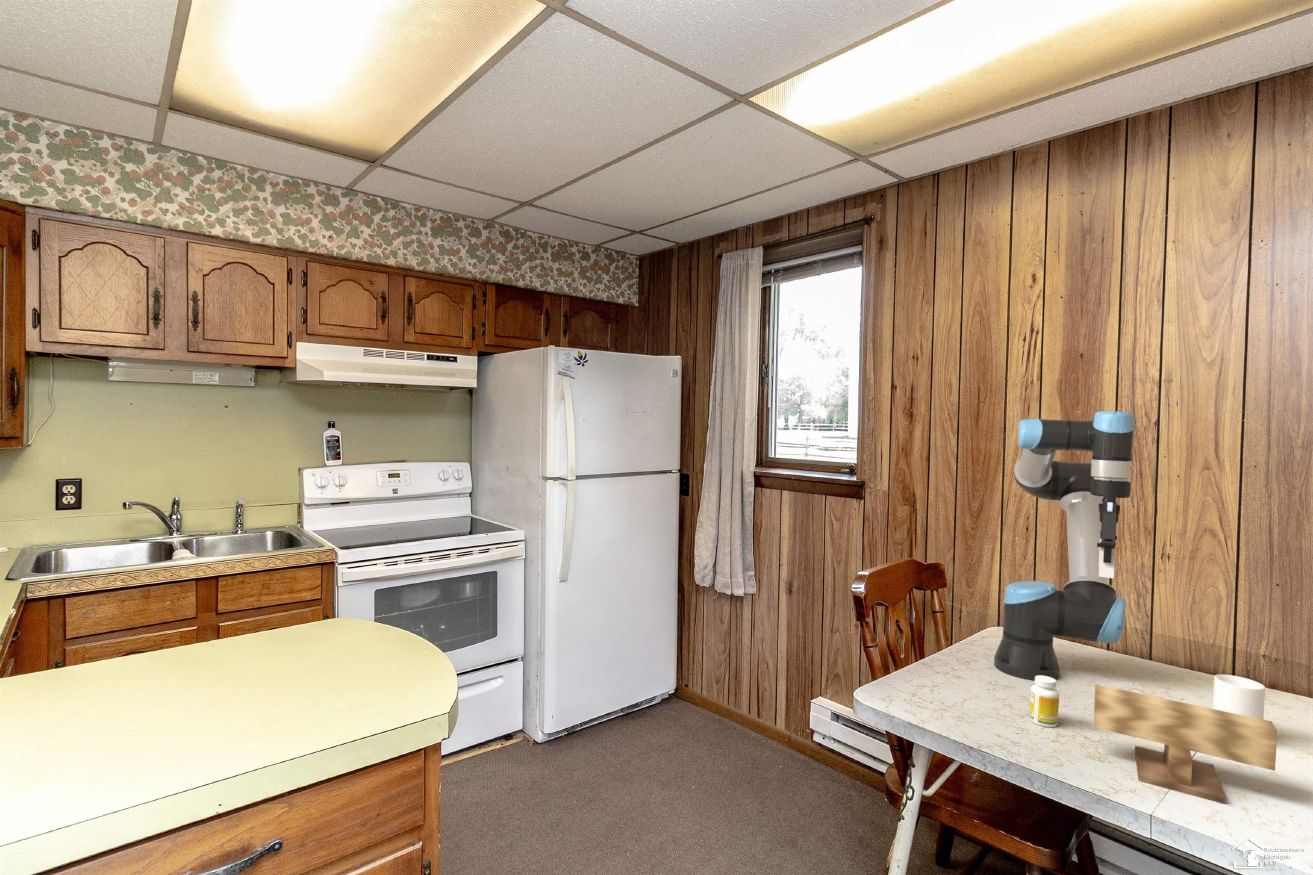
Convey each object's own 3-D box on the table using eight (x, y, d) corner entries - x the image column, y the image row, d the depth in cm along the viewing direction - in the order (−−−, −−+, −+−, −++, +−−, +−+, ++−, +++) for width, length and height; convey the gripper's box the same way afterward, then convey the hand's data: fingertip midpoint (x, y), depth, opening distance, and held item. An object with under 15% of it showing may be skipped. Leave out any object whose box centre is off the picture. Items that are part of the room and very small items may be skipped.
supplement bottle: (1023, 719, 144) (1025, 675, 144) (1039, 715, 146) (1041, 672, 146) (1047, 729, 139) (1049, 684, 139) (1063, 725, 141) (1065, 681, 141)
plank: (1093, 727, 127) (1095, 691, 127) (1093, 718, 131) (1095, 684, 131) (1275, 770, 113) (1277, 730, 113) (1269, 760, 116) (1271, 721, 116)
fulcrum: (1138, 780, 119) (1140, 747, 119) (1134, 750, 131) (1136, 720, 131) (1224, 803, 113) (1226, 769, 113) (1212, 770, 124) (1214, 738, 124)
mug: (1201, 719, 147) (1204, 666, 147) (1251, 729, 143) (1254, 674, 143) (1215, 740, 137) (1218, 683, 137) (1269, 751, 133) (1273, 692, 133)
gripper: (1133, 483, 137) (1128, 584, 137) (1128, 477, 157) (1124, 565, 158) (1090, 480, 141) (1085, 578, 141) (1091, 475, 162) (1086, 561, 162)
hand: (1105, 572), depth 150 cm, fingers open, 13 cm apart
